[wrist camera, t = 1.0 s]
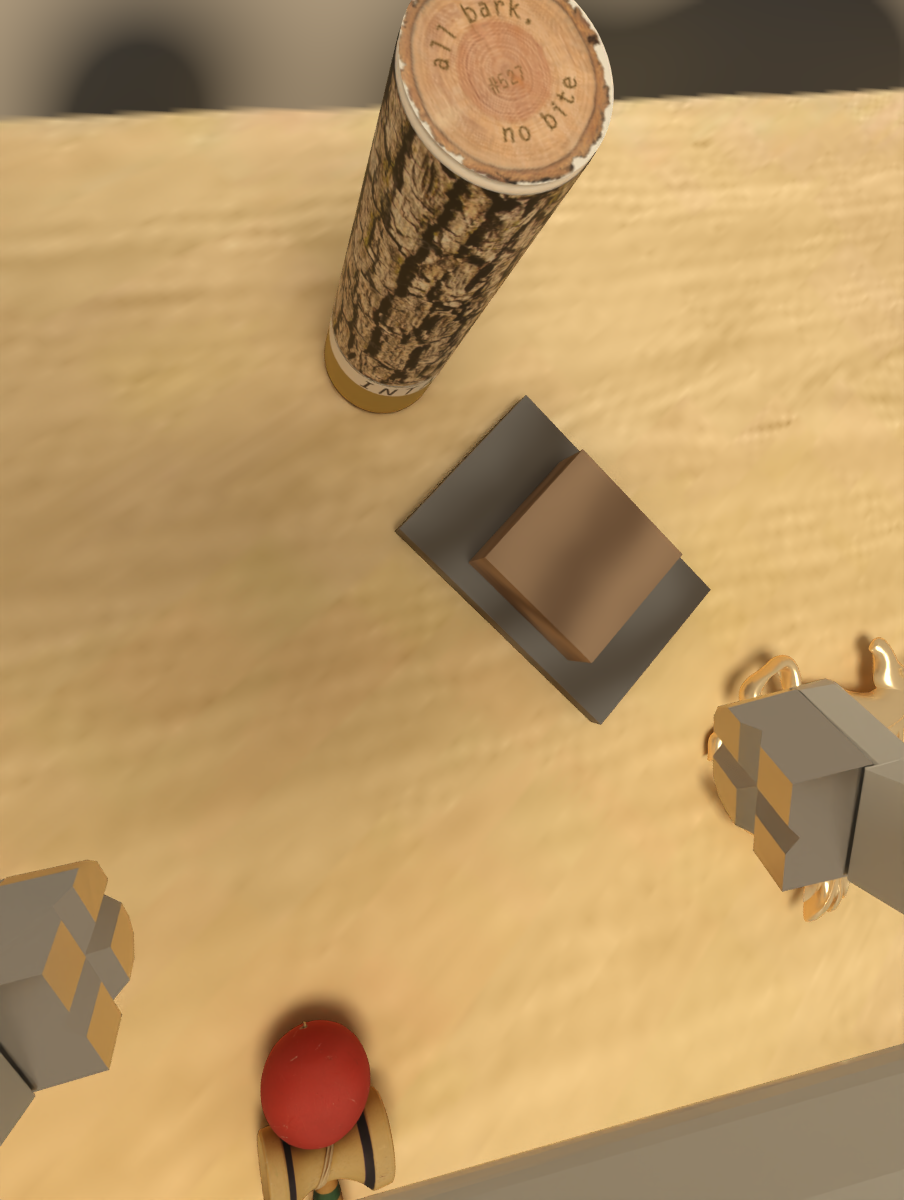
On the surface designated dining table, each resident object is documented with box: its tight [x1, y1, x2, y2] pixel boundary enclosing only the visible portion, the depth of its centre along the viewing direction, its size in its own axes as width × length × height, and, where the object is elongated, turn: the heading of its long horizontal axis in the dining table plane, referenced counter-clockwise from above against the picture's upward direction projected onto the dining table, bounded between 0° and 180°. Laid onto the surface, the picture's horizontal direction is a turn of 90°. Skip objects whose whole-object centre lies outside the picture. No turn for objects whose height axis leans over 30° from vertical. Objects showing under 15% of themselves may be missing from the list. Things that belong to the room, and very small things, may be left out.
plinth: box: [395, 395, 711, 724], centre depth 46 cm, size 18×12×5 cm, turn 47°
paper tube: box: [325, 0, 614, 413], centre depth 34 cm, size 7×7×25 cm
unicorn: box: [707, 637, 904, 922], centre depth 51 cm, size 20×4×17 cm
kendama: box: [257, 1020, 395, 1200], centre depth 42 cm, size 8×6×18 cm
